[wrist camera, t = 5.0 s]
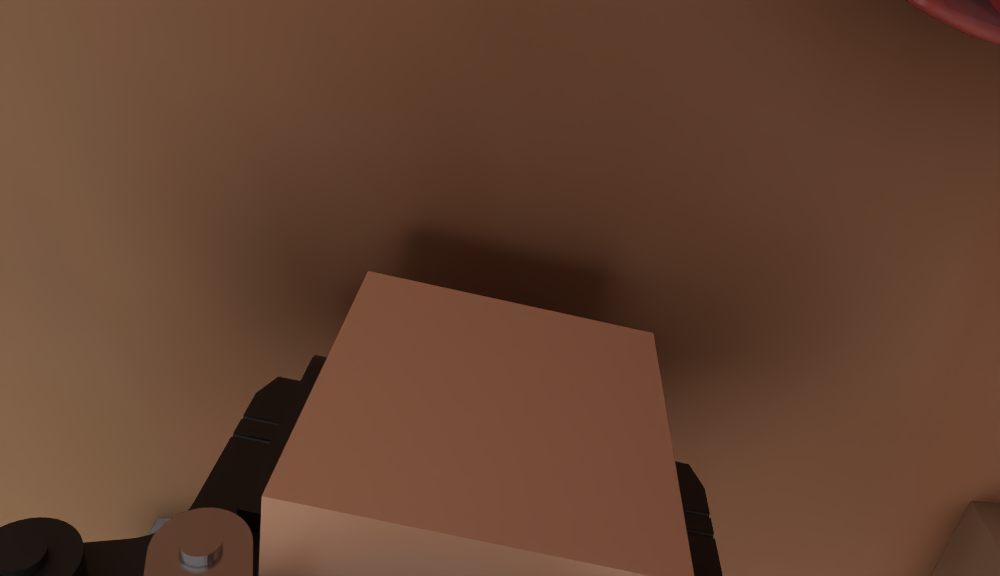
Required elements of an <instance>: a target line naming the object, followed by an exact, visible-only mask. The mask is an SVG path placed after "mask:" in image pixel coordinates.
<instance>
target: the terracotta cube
mask: <svg viewBox="0 0 1000 576" xmlns="http://www.w3.org/2000/svg"><path fill="white" fill-rule="evenodd" d="M259 576H694V572H693V566H692V560H691V554H690V548H689V542H688V536H687V530H686V524H685V518H684V512H683V506H682V500H681V495H680V489H679V483H678V477H677V471H676V465H675V459H674V453H673V447H672V441H671V435H670V429H669V423H668V417H667V411H666V405H665V399H664V394H663V388H662V382H661V376H660V370H659V364H658V358H657V352H656V346H655V340H654V334H653V333H651V332H646V331H642V330H637V329H632V328H628V327H623V326H619V325H614V324H609V323H605V322H600V321H596V320H591V319H586V318H582V317H577V316H573V315H568V314H564V313H559V312H554V311H550V310H545V309H541V308H536V307H531V306H527V305H522V304H518V303H513V302H508V301H504V300H499V299H495V298H490V297H485V296H481V295H476V294H472V293H467V292H462V291H458V290H453V289H449V288H444V287H440V286H435V285H430V284H426V283H421V282H417V281H412V280H407V279H403V278H398V277H394V276H389V275H384V274H380V273H375V272H371V271H368V272H367V274H366V276H365V278H364V280H363V283H362V285H361V287H360V289H359V291H358V293H357V295H356V297H355V300H354V302H353V304H352V306H351V308H350V310H349V312H348V314H347V317H346V319H345V321H344V323H343V325H342V327H341V329H340V331H339V333H338V336H337V338H336V340H335V342H334V344H333V346H332V348H331V350H330V353H329V355H328V357H327V359H326V361H325V363H324V365H323V367H322V369H321V372H320V374H319V376H318V378H317V380H316V382H315V384H314V386H313V389H312V391H311V393H310V395H309V397H308V399H307V401H306V403H305V405H304V408H303V410H302V412H301V414H300V416H299V418H298V420H297V422H296V425H295V427H294V429H293V431H292V433H291V435H290V437H289V439H288V441H287V444H286V446H285V448H284V450H283V452H282V454H281V456H280V458H279V461H278V463H277V465H276V467H275V469H274V471H273V473H272V475H271V477H270V480H269V482H268V484H267V486H266V488H265V490H264V492H263V494H262V501H261V526H260V551H259Z"/></svg>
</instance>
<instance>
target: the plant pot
mask: <svg viewBox="0 0 1000 576" xmlns="http://www.w3.org/2000/svg"><path fill="white" fill-rule="evenodd" d="M907 1H908V2H910V3H911V4H912V5H914V6H915V7H916V8H918V9H920V10H921V11H923V12H925V13H927V14H929V15H930V16H932V17H934V18H936V19H937V20H939V21H941V22H943V23H945V24H947V25H949V26H951V27H953V28H955V29H957V30H960V31H962V32H964V33H966V34H968V35H970V36H973V37H976V38H979V39H981V40H984V41H987V42H991V43H994V44H998V45H1000V0H907Z"/></svg>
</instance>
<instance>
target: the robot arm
mask: <svg viewBox="0 0 1000 576" xmlns="http://www.w3.org/2000/svg"><path fill="white" fill-rule="evenodd" d="M326 359H327V357H323V356H318V355H315V356H314V357H313V358H312V360H311V362H310V364H309V366H308V368H307V370H306V372H305V374H304V376H303V378H302V380H301V381H297V380H292V379H287V378H282V377H277V378H276V379H275V380H273V381H272V382H271V383H269V384H268V385H267V386H265V387H264V388H262V389H261V390H260V391H258V392H257V393H256V394H255V396H254V398H253V399H252V401H251V403H250V405H249V407H248V408H247V410H246V412H245V414H244V417H243V419H241V421H240V422H239V424H238V426H237V428H236V429H235V431H234V434H233V437H231V438H230V440H229V442H228V443H227V445H226V447H225V449H224V450H223V452H222V454H221V456H220V457H219V459H218V461H217V463H216V464H215V466H214V468H213V470H212V471H211V473H210V475H209V477H208V478H207V480H206V482H205V484H204V485H203V487H202V489H201V491H200V492H199V494H198V496H197V498H196V500H195V501H194V503H193V504H192V506H191V507H190V509H189V510H188V511H186V512H183V513H181V514H178V515H177V516H175V517H173V518H171V519H170V520H168V521H167V522H166V523H164V524H163V525H162V526H161V527H160V528H159V529H158V530H157V531H156V533H153V534H150V535H147V536H143V537H139V538H132V539H123V540H110V541H98V542H86V543H83V541H82V538H81V536H80V534H79V533H78V531H77V530H76V529H75V528H74V527H73V526H71V525H70V524H68V523H66V522H64V521H61V520H58V519H53V518H41V517H39V518H29V519H24V520H19V521H16V522H13V523H9V524H7V525H5V526H2V527H0V576H259V551H260V526H261V501H262V494H263V492H264V490H265V488H266V486H267V484H268V482H269V480H270V477H271V475H272V473H273V471H274V469H275V467H276V465H277V463H278V461H279V458H280V456H281V454H282V452H283V450H284V448H285V446H286V444H287V441H288V439H289V437H290V435H291V433H292V431H293V429H294V427H295V425H296V422H297V420H298V418H299V416H300V414H301V412H302V410H303V408H304V405H305V403H306V401H307V399H308V397H309V395H310V393H311V391H312V389H313V386H314V384H315V382H316V380H317V378H318V376H319V374H320V372H321V369H322V367H323V365H324V363H325V361H326ZM675 465H676V471H677V477H678V483H679V489H680V495H681V500H682V506H683V512H684V518H685V524H686V530H687V536H688V542H689V548H690V554H691V560H692V566H693V572H694V576H722V571H721V566H720V561H719V556H718V551H717V547H716V542H715V539H713V535H714V532H713V527H712V522H711V518H709V514H710V513H709V508H708V503H707V498H706V493H705V489H704V487H703V485H702V484H701V482H700V481H699V479H698V478H697V476H696V475H695V473H694V472H693V470H692V468H691V467H690V465H689V464H684V463H680V462H675Z"/></svg>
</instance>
